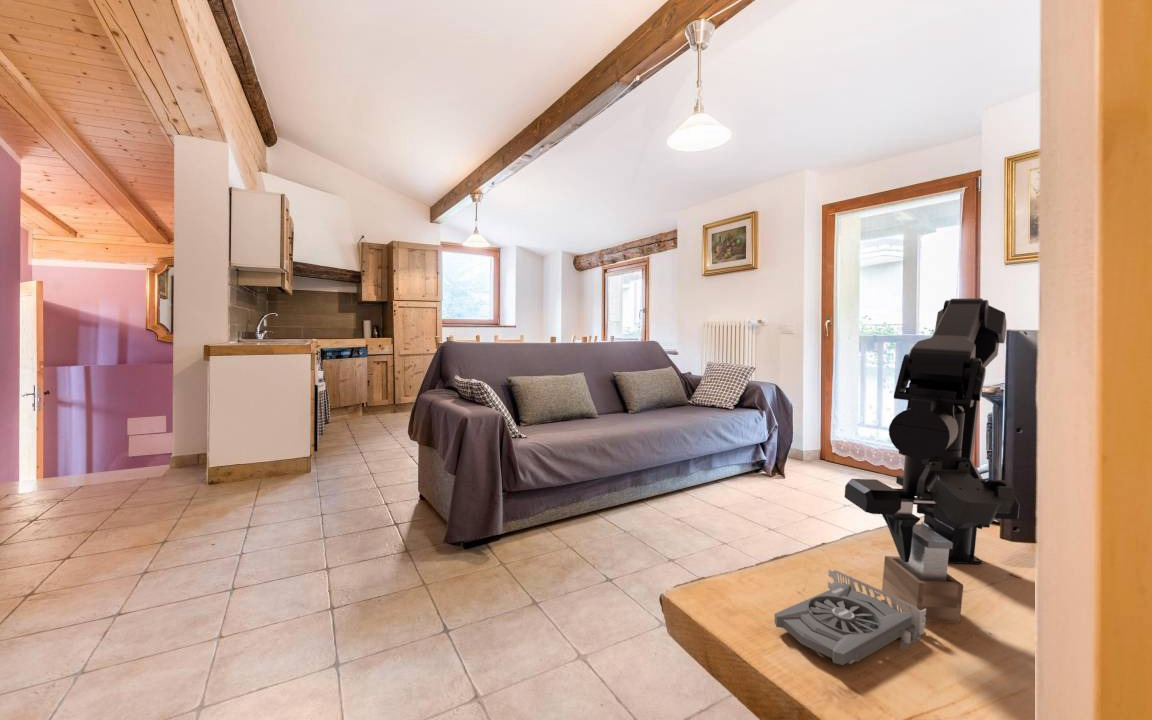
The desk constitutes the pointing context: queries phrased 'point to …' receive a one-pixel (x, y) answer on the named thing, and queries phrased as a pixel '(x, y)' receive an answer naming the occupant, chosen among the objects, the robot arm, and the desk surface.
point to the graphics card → (851, 621)
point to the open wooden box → (923, 592)
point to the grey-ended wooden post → (928, 555)
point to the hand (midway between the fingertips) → (922, 561)
